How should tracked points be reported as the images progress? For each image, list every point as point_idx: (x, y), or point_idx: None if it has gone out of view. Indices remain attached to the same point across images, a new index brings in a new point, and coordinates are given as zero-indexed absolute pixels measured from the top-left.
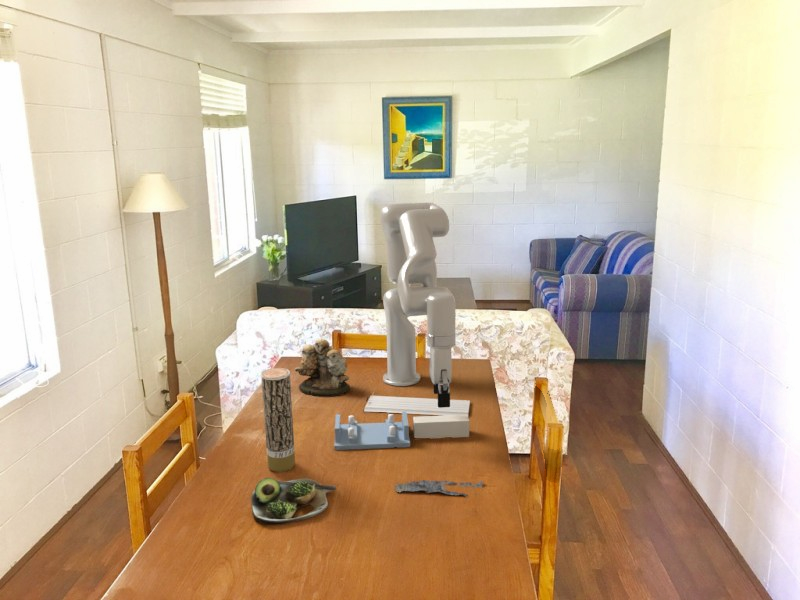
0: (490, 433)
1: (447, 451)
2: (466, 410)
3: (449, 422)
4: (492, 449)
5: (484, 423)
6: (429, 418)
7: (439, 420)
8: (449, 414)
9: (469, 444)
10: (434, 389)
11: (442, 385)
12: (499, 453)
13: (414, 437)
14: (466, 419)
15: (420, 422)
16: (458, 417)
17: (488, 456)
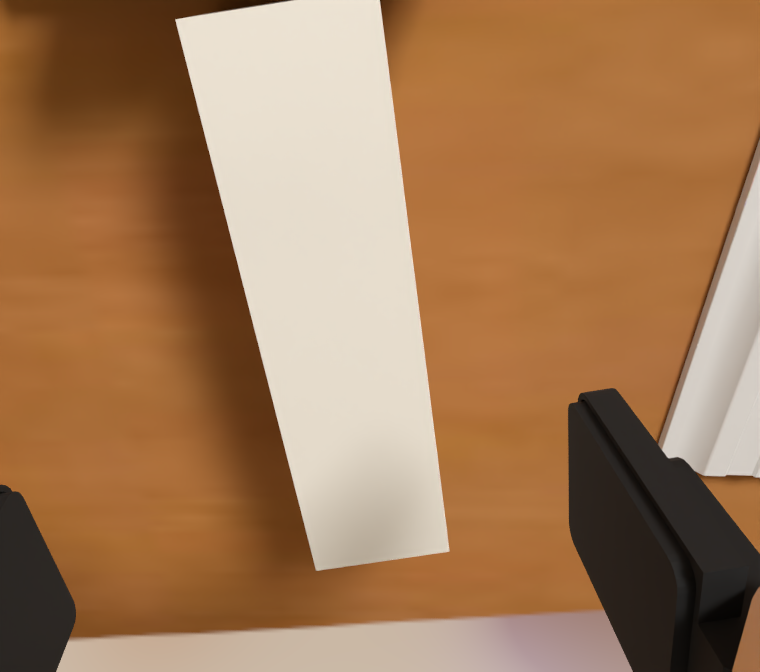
0: (381, 585)
1: (32, 328)
2: (752, 461)
3: (278, 415)
4: (144, 594)
5: (539, 554)
6: (338, 216)
7: (294, 326)
8: (723, 332)
9: (191, 472)
10: (599, 446)
11: (620, 616)
12: (97, 626)
13: (211, 12)
14: (338, 551)
15: (206, 107)
16: (379, 492)
17: None
